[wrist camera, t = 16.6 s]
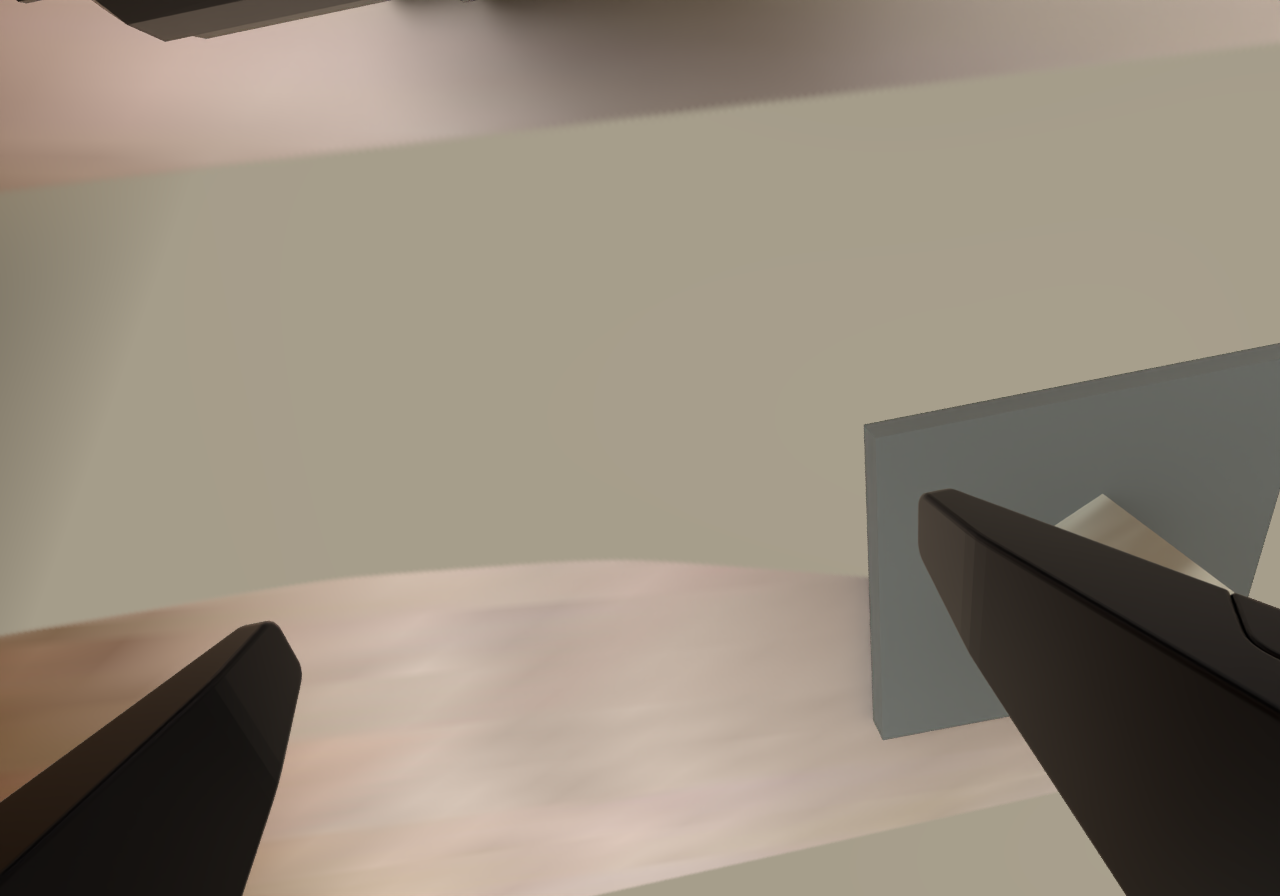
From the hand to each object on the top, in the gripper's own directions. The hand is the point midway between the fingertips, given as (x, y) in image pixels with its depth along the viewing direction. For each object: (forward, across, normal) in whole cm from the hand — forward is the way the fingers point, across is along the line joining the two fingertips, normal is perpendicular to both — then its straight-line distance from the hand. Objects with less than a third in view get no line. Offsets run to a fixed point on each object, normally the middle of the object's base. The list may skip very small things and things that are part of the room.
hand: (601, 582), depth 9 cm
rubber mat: (+12, -15, +12) cm, 23 cm away
